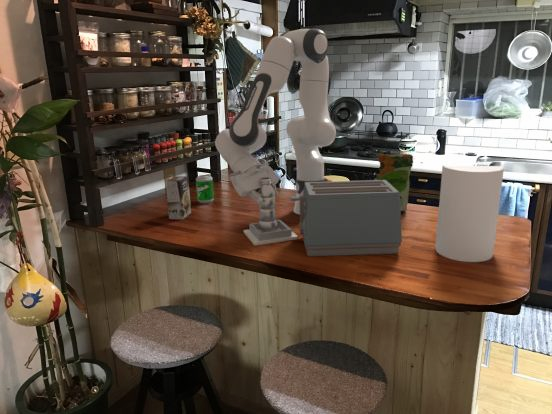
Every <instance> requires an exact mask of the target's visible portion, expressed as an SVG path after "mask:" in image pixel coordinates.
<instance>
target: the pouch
mask: <svg viewBox="0 0 552 414" xmlns="http://www.w3.org/2000/svg"><path fill="white" fill-rule="evenodd" d="M376 156H377V158H378V163H379V167H377V168H378V170H379V173H378V174H377V176H376V180H386V181H388V182H389V183H390V184H391V185H392V186H393V187H394V188H395V189H396V190H397V191H398V192H399V197H400V211H401V212H406V211H407V207H408V203H409V191H410V184H411V183H410V174H411V172H412V171H411V170H412V168H413V166H414V165H413V164H414V159H413V158H414V156H413V155H412V154H409V153H405V154H397V153H395V152H393V154H388V153H386V154H384V153H382V152H378V153H376Z"/></svg>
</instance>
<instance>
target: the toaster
mask: <svg viewBox="0 0 552 414" xmlns="http://www.w3.org/2000/svg"><path fill="white" fill-rule="evenodd" d="M304 184H305V187H304V191H303V196H300V198H299V196H296V195H295V196H294V195H293V196H290V201H292V202H296V201H299V199H300V215H299V222H298V229H299V234H300V236H302V238H303V243H304V248H305V251H306V255H307V257H334V256H335V257H337V256H365V255H367V256H368V255H369V256H370V255H389V254H392V255H396V254H398V253H399V250H400V249H399V248H400V247H401V246H402V242H403V240H402V239H403V238H402V237H403V236H402V215H401V213H402V211H400V197H399V192H398V191H397V190H396V189H395V188H394V187H393V186H392V185H391V184H390V183H389V182H388V181H386V180H377V179H376V180H374V179H372V180H370V179H369V180H368V179H367V180H339V181H338V180H337V181H333V180H332V182H305V183H304Z"/></svg>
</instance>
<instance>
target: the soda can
mask: <svg viewBox="0 0 552 414" xmlns="http://www.w3.org/2000/svg"><path fill="white" fill-rule="evenodd" d="M195 184H196V186H195V187H196V199H197V202H199V204H210V203H212V202H213V201H214V200H215V196H214V195H215V194H214V180H213V177H212V176H211V175H210V174H201V175H198V176H197V177H196V178H195Z"/></svg>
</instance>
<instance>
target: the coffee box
mask: <svg viewBox="0 0 552 414" xmlns="http://www.w3.org/2000/svg"><path fill="white" fill-rule="evenodd" d="M165 185H166V198H167V199H166V201H167V209H168V211H167V212H168V219H169V220H180V221H181V220H182V221H183V220H184V219H186V218H187V217H188V216H189V215H191V214H192V209H191V208H192V207H191V198H190V197H191V196H190V195H191V194H190V185H189V176H187V175H185V176H184V175H183V176H182V175H181V176H178V175H177V176H176V175H175V176H173V177H171V178H169V179H167V180H165Z"/></svg>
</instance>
